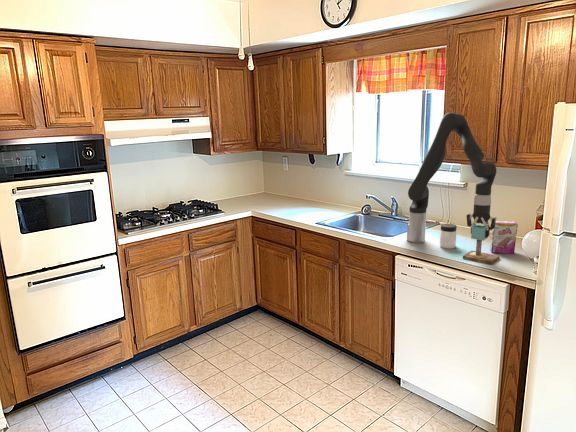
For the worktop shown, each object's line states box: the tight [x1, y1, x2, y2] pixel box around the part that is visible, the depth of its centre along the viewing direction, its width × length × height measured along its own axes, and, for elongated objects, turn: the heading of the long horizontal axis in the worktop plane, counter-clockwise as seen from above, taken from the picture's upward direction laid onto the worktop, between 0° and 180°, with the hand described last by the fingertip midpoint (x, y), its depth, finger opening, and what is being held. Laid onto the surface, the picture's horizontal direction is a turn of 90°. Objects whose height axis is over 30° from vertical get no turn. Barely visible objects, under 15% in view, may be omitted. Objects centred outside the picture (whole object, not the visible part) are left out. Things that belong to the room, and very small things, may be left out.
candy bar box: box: [489, 220, 519, 255], centre depth 227 cm, size 11×5×16 cm, turn 75°
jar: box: [439, 223, 458, 250], centre depth 240 cm, size 9×8×12 cm
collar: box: [470, 223, 489, 242], centre depth 218 cm, size 6×6×6 cm
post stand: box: [462, 239, 501, 265], centre depth 219 cm, size 14×11×10 cm
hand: (479, 235), depth 219 cm, fingers closed on collar, 6 cm apart
